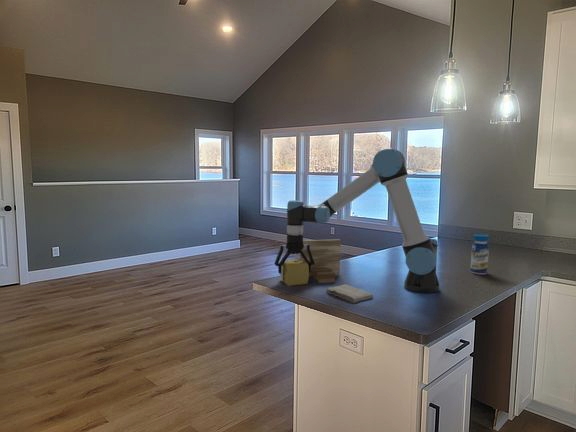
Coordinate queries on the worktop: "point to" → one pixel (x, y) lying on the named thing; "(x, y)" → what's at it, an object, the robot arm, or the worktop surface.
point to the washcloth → (349, 293)
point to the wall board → (323, 259)
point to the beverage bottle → (479, 254)
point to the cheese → (295, 272)
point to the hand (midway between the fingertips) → (294, 279)
